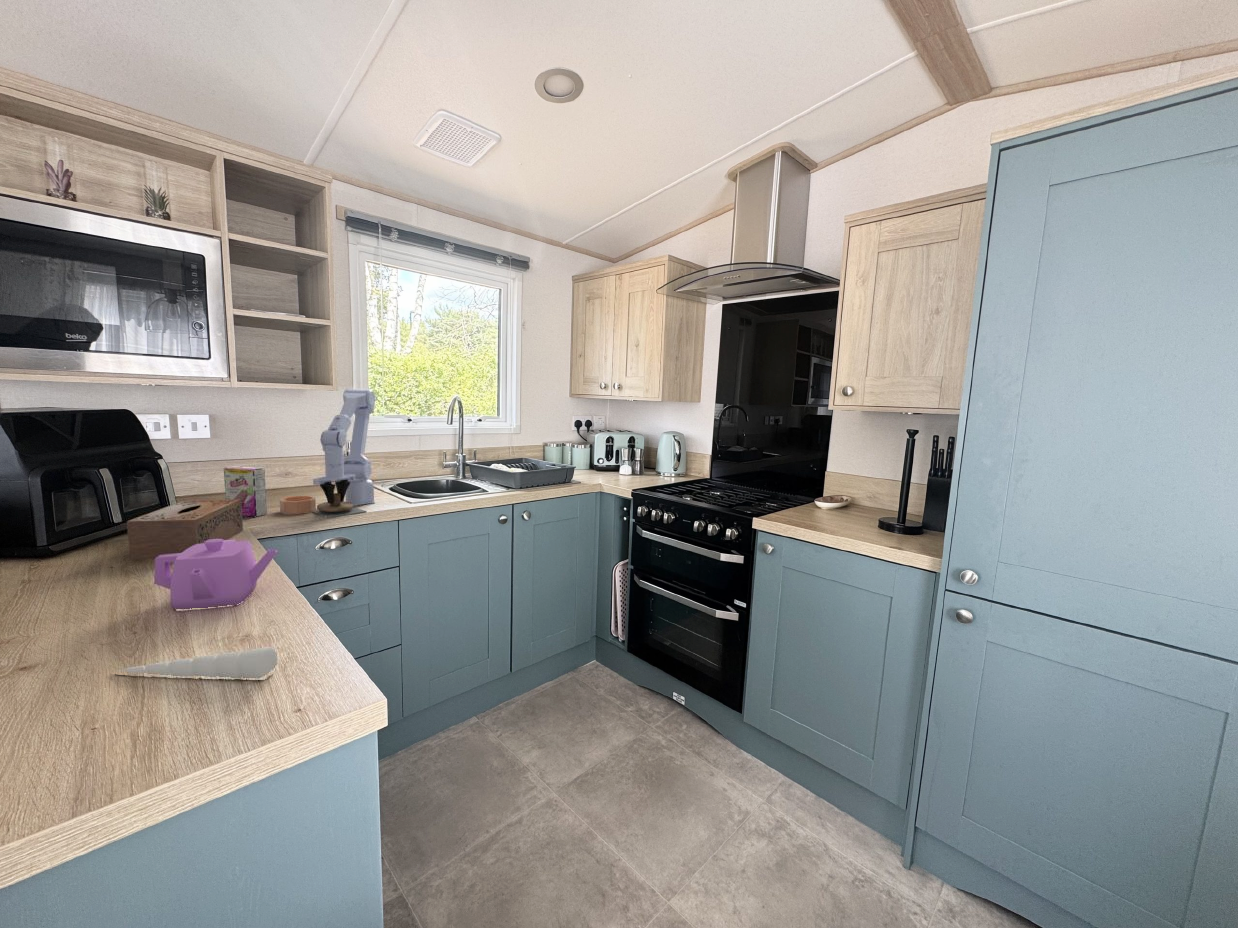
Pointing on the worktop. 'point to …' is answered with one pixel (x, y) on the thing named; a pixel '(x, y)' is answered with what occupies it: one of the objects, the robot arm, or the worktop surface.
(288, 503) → the bowl
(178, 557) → the teakettle
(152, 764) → the worktop surface
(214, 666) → the unicorn horn
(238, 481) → the candy bar box
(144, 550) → the tissue box cover
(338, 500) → the lid
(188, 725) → the worktop surface
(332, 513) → the mat
